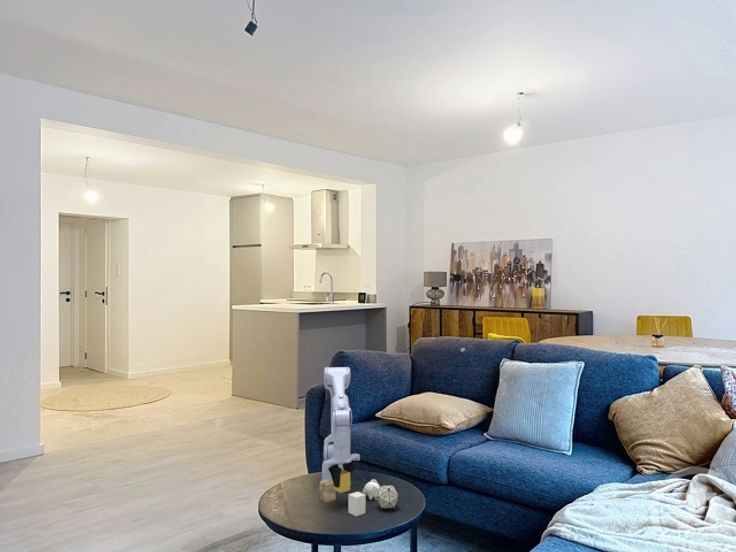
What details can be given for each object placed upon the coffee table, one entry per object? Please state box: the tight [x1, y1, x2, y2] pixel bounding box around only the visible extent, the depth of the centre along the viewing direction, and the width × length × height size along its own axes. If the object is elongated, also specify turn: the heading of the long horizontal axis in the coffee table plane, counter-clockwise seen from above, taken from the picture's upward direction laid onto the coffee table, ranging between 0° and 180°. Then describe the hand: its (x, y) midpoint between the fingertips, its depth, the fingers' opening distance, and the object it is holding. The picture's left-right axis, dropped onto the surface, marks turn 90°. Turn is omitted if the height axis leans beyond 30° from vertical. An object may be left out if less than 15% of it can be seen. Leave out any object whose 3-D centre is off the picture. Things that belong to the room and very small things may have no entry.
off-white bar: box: [347, 491, 367, 517], centre depth 186 cm, size 4×4×6 cm
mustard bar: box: [334, 470, 351, 494], centre depth 192 cm, size 4×4×6 cm
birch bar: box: [319, 480, 337, 503], centre depth 198 cm, size 4×4×6 cm
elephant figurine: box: [361, 478, 380, 501], centre depth 199 cm, size 7×8×6 cm
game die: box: [373, 482, 402, 511], centre depth 190 cm, size 9×8×10 cm
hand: (341, 485), depth 192 cm, fingers closed on mustard bar, 4 cm apart
